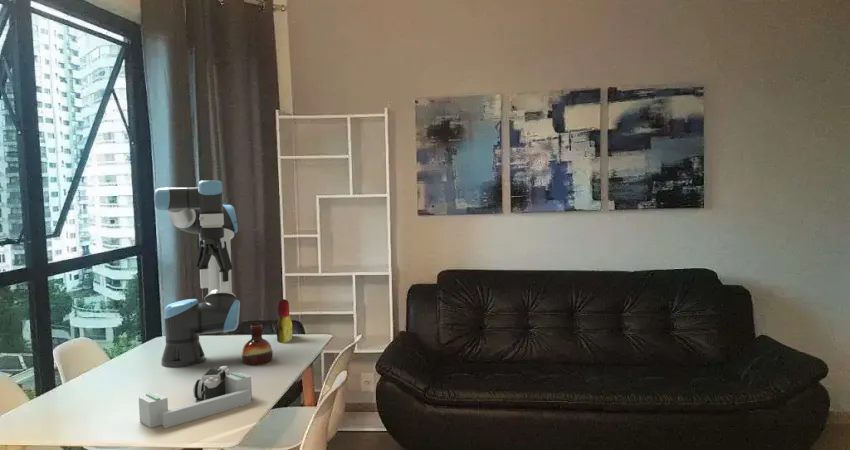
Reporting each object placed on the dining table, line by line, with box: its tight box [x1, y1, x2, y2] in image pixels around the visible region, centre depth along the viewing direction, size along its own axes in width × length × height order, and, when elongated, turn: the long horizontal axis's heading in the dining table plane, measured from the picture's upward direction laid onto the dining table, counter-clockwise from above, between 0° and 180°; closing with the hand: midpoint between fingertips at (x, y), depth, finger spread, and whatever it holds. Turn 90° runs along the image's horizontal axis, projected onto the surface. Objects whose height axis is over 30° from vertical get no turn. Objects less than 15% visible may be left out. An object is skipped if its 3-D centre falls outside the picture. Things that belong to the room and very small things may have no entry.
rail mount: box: [138, 371, 253, 429], centre depth 177 cm, size 10×31×8 cm, turn 137°
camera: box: [193, 365, 231, 401], centre depth 189 cm, size 16×9×10 cm, turn 1°
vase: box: [241, 323, 274, 366], centre depth 224 cm, size 11×11×15 cm
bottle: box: [276, 298, 293, 344], centre depth 254 cm, size 12×6×20 cm, turn 1°
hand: (214, 289), depth 203 cm, fingers open, 13 cm apart
